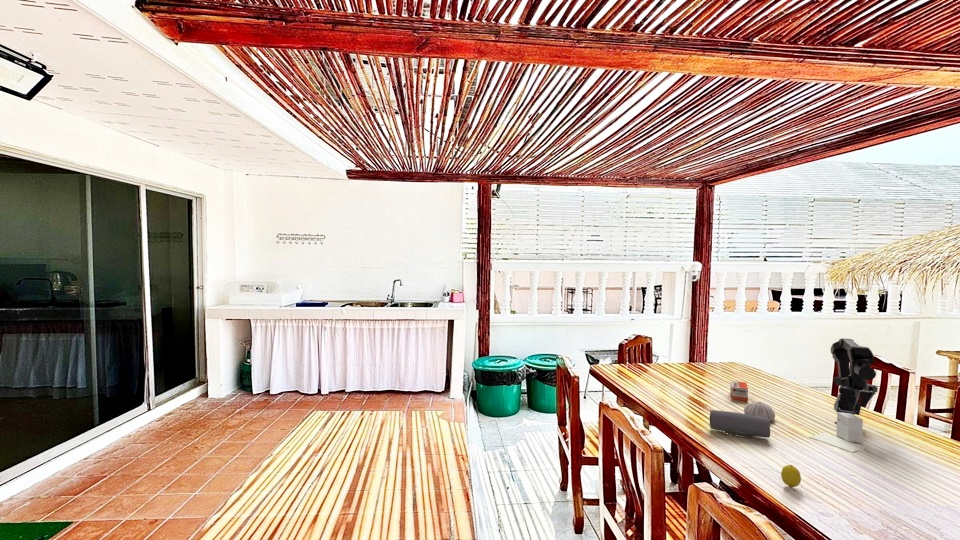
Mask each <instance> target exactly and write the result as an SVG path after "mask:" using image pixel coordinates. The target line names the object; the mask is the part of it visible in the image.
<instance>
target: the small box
mask: <svg viewBox="0 0 960 540" xmlns="http://www.w3.org/2000/svg"><path fill="white" fill-rule="evenodd" d="M863 420H864V419H862V418H861V417H859V416H858V415H856V414H854V415H853V414H850V413H841V412H836V422H837V424H836V436H837V437H838V438H840V439H843V440H846V441H849V442H852V443H861V444H862V443H863V425H864V424H863V423H864V421H863Z"/></svg>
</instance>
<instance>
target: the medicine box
mask: <svg viewBox="0 0 960 540" xmlns="http://www.w3.org/2000/svg"><path fill="white" fill-rule="evenodd" d="M748 388H749V387H748V385H747V382H745V381H744V382H743V381H737V380H730V399H731V401H735V402H743V403H748V399H749V398H748V397H749V396H748V395H749V389H748Z"/></svg>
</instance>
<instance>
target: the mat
mask: <svg viewBox="0 0 960 540" xmlns="http://www.w3.org/2000/svg"><path fill="white" fill-rule="evenodd" d="M809 438H811V440H816V441H819V442H820V443H821V442H822V443H824V444H828V445H829V446H833V447H836V448H838V449H840V450H844V451H847V452H849V453H855V452H859V451H861V450H865V449H867V446H864V445H860V444H858V443H856V442H849V441H846V440H845V439H843V438H841V437H838V436H837V437H836V436H834V435H831V434H828V433H825V432H822V433H818V434H813V435H812V436H811V435H810V436H809Z"/></svg>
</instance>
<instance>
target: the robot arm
mask: <svg viewBox="0 0 960 540" xmlns="http://www.w3.org/2000/svg"><path fill="white" fill-rule="evenodd" d="M830 354H831V355H832V358H833V359H832V360H834V361H835V362H836V364H837V370H838V371H837V372H838V376H835V377H834V378H833V383H834V385H836V386H837V387H839V388H838V395H837V396H836V400H835V401H834V404H833V409H834V411H835V412H836V413H837V412H841V413H850V414H853V415H855V416H859V415H860V413H861V408H865V407H866V406H867V405H868V404H869V402H870V401H871V399H872V398H873V397H874V396H875V395H876V393H878V390H879V389H878V387H877V385H874V384H871V383H868V381H871V380H873V379H875V378H876V375H877V372H876V370H875V369H873V368H872V367H871V365H875V361H876V360H875V356H874V354H873V352H872V350H871V348H870V347H868V346H861V345H859V344H857V342H856V341H855V340H854V339H851V338H839V339H838V341H836V342H834V343H832V345H831V347H830ZM859 399H860V402H859ZM834 423H835V424H836V425H837V421H834Z"/></svg>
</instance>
